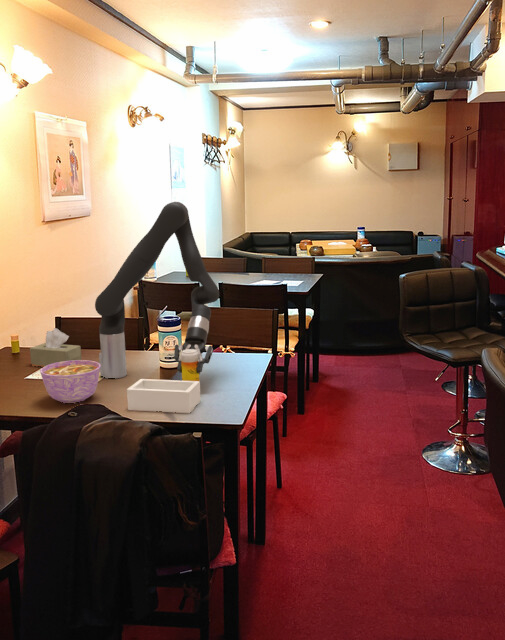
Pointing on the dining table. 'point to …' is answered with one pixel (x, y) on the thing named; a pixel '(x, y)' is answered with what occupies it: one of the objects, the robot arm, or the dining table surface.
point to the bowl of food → (71, 380)
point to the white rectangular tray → (163, 395)
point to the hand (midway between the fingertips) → (189, 372)
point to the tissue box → (54, 350)
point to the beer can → (189, 365)
